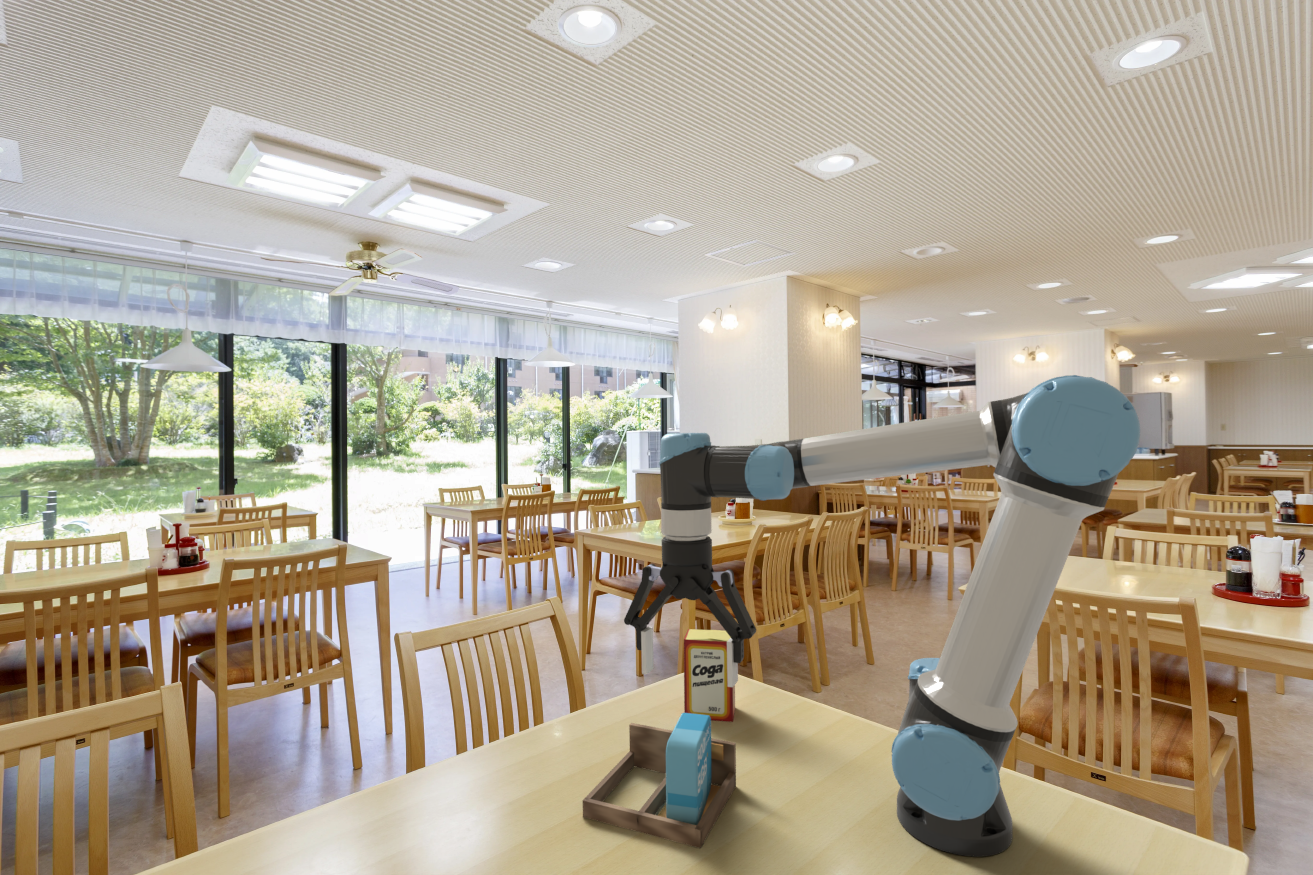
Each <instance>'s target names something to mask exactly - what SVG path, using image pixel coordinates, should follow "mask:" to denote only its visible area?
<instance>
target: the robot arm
mask: <svg viewBox="0 0 1313 875" xmlns="http://www.w3.org/2000/svg"><path fill="white" fill-rule="evenodd" d="M1140 438H1141V424H1140V418H1139V415H1138V412H1137V411H1136V409H1135V407H1134V405H1133V403H1132V402H1131V400H1129V398H1128V397H1127V396H1126V395H1125V394H1124V393H1123V392H1122V391H1120V390H1119V389H1118V388H1117V387H1115V386H1113V385H1111V384H1109V383H1108V382H1106V381H1104V380H1100V379H1096V378H1095V377H1092V376H1090V377H1089V376H1082V375H1076V374H1073V375H1062V376H1056V377H1053V378H1050V379H1047V380H1045V381H1043V382H1040V383H1039V384H1038V385H1036V386H1035V387H1034V386H1033V388H1031V389H1030V390H1029V391H1028V392H1026V393H1023V394H1020V395H1017V396H1014V397H1010V398H1009V397H1008V398H1004V399H999V400H998V399H997V400H993V401H988V402H987V403H986V404H985V405H984V406H983V407H982V409H979V410H976V411H969V412H963V413H962V412H961V413H958V414H957V413H956V414H951V415H943V416H938V417H932V418H926V419H920V420H912V421H907V422H899V423H893V424H888V425H887V424H886V425H881V426H880V425H879V426H873V427H868V428H862V429H855V430H849V431H842V432H836V433H831V434H830V433H829V434H823V435H818V436H811V437H805V438H799V439H792V440H784V441H776V442H771V443H762V444H752V445H730V446H729V445H727V446H726V445H724V446H721V445H713V444H712V442H711V437H710V435H709V433H707V432H676V433H675V432H672V433H666V434H664V435H663V436H662V438H661V440H660V452H659V453H660V454H659V462H658V465H659V470H660V473H659V474H660V493H661V494H660V495H661V496H660V498H661V502H660V518H661V519H660V520H661V521H660V524H661V525H660V527H661V528H660V531H661V532H660V533H661V535H662V536H664V537H663V538H662V539H661V563H662V565H661V567H658V566H656V565H655V564H654V563H649V565H646V566H644V567H643V568H642V572H641V573H642V574H641V581H640V583H639V585H638V587H637V590H636V592H635V595H634V597H633V599H632V600H631V603H630V606H629V608H628V610H627V612H626V614H625V617H624V619H623V623H624V624H625V625H626V626H629V625H630V626H631V627H634V629H635V641H636V643H635V644H636V645H635V646H636V649H637V651H640V652H641V674H642V675H648V674H649V673H650V672H651V671H653V670H654V665H655V664H654V663H655V662H654V630H653V629H654V627H653V626H648V625H650V622H651V621H652V620H653V619H654V617H655V616H656V615H657V614H658V613H659V611H660V610H661V609H662V608H663V607H664V606H665V604H666V603H667V602H668V601H669V600H670V599H671V597H672V596H673V597H674V598H675V600H676V599H677V600H682V599H686V600H689V601H696V600H699V601H700V602H701V603H702V604H703V605H705V606H706V607H707V608H708V610H709V611H710V612H711V614H712V615H713V616H714V617H715V619H716V620H717V621H718V623H719V624H720V625H721V627H722V628H723V630H724V631H726V632H727V633H728V635H729V636H730V637H731V638H730V639H729V640H728V641H727V683H728V687H733V686H734V685H735V686H736V683H738V681H739V666H738V664H741V662H742V661H743V660H744V657H745V650H744V649H745V645H744V644H745V642H744V641H745V640H746V639H747V640H750V639H752V637H753V636H754V635H755V634H756V633H757V627H756V625H755V623H754V620H752V617H751V614H750V613H749V611H748V609H747V606H746V605H745V602H744V601H743V598H742V596H741V595H740V591H739V590H738V588H737V586H736V583H735V582H736V581H735V575H734V571H733V569H727V570H725V571H715V570H714V568H713V539H712V538H711V537H710V536H709V535H710V534H711V533H712V530H713V529H712V498H718V499H719V498H730V499H731V498H732V499H750V500H759V501H767V500H784V499H786V498H787V497H788V496H790V494H791V490H793V489H799V488H807V487H811V486H812V487H813V486H821V485H830V484H837V483H847V482H854V481H864V480H872V479H879V478H882V479H883V478H890V477H896V476H897V477H898V476H907V475H916V474H922V473H931V472H939V471H949V470H958V469H964V468H965V469H966V468H973V467H981V466H992V467H994V468H995V469H994V472H993V477H994V480H995V482H996V483H997V485H998V486H999V488H1000V491H1001V492H1000V493H1001V494H1000V496H999V499H998V500H997V504H996V508H994V512H993V514H992V518H991V520H990V523H989V525H988V528H987V530H986V534H985V537H984V539H983V542H982V545H981V547H980V550H979V552H978V555H977V557H976V560H975V563H974V566H973V569H972V570H971V574H970V577H969V579H968V581H967V583H966V588H965V590H964V591H963V592H964V593H963V596H962V598H961V600H960V604H959V606H958V609H957V612H956V614H955V616H954V620H953V623H952V626H951V628H950V630H949V634H948V636H947V638H946V641H945V644H944V646H943V649H942V652H941V654H940V657H924V658H919V659H915V660H913V661H912V662H911V663H910V665H909V674H908V676H907V679H908V680H909V682H908V683H909V684H908V685H909V686H908V688H909V690H908V702H907V704H906V708H905V710H904V714H903V717H902V720H901V722H900V726H899V729H898V732H897V734H896V736H895V738H894V739H893V742H892V744H891V751H890V752H891V766H892V771H893V774H894V777H895V779H896V781H897V784H898V785H899V789H898V792H897V796H896V816H897V819H898V820H899V823H900V824H901V826H902V827H903V828H904V830H906V831H907V833H909V834H910V835H911V836H913V837H914V838H916V839H917V840H918V841H920V842H922V843H924V844H926V845H928V846H930V847H932V848H935V849H937V850H939V851H943V852H946V853H949V854H953V855H958V856H964V857H965V856H966V857H987V856H988V857H989V856H990V857H991V856H993V855H997V854H1000V853H1002V852H1004V851H1006V850H1007V849H1008V848H1009V847H1010V846H1011V844H1012V842H1013V820H1012V815H1011V812H1010V809H1009V806H1008V803H1007V800H1006V797H1005V794H1004V792H1003V788H1002V786H1001V778H1000V771H1001V768H1002V766H1003V763H1004V760H1005V757H1006V754H1007V752H1008V750H1009V748H1010V744H1011V742H1012V739H1013V738H1014V735H1015V732H1016V729H1017V726H1018V724H1019V723H1018V719H1017V716H1016V715H1015V713H1014V711H1013V709H1012V707H1011V706H1010V705H1011V704H1010V703H1011V701H1012V698H1013V696H1014V693H1015V690H1016V688H1017V686H1018V683H1019V681H1020V677H1021V675H1022V673H1023V670H1024V668H1025V665H1026V662H1027V660H1028V658H1029V656H1030V654H1031V650H1032V648H1033V645H1034V643H1035V641H1036V638H1037V635H1038V632H1039V630H1040V628H1041V626H1042V623H1043V620H1044V617H1045V615H1046V612H1047V610H1048V607H1049V605H1050V602H1051V600H1052V597H1053V595H1054V593H1055V590H1056V587H1057V585H1058V582H1059V580H1060V577H1061V576H1062V572H1063V569H1064V567H1065V565H1066V562H1067V560H1068V558H1069V555H1070V552H1071V549H1072V547H1073V545H1074V541H1075V539H1076V537H1077V536H1078V535H1077V534H1078V532H1079V529H1080V527H1081V524H1082V522H1083V520H1084V519H1085V518H1087V517H1089V516H1092V515H1094V514H1097V513H1099V512H1102V511H1104V510H1105V508H1106V505H1107V503H1108V501H1109V500H1108V499H1109V498H1110V496H1111V492H1112V490H1113V488H1114V486H1115V483H1116V480H1117V478H1118V476H1119V473H1120V472H1122V471H1123V470H1124V469H1125V468H1126V467H1127V466H1128V465H1129V464H1130V462H1131V460H1132V459H1133V458H1134V457H1135V455H1136V452H1137V450H1138V447H1139V443H1140ZM659 577H660V579H661V580H662V582H663V583H664V585H665V586H664V587H663V588H662V590H661V591H660V592H659V593H658V595H657V596H656V597H655V599H654V601H652V603H651V604H650V605H649V606H648V608H647V609H646V610H645V611H644V612H643V614H641V612H642V610H643V607H644V605H645V603H646V601H647V598H648V596H649V594H650V592H651V589H652V588H653V585H654V583H655V581H656V580H658V579H659ZM714 581H716V582H717V585H718V586H719V587H721V588H722V592H723V595H724V596H725V599H726V602H727V603H728V605H729V607H730V609H731V612H732V613H733V614H732V613H731V612H730V611H729V609H727V607H726V606H725V605H724V603H723V602H722V601H721V599H720V598H719V597H718V594H717V591H715V589H714V588H713V587H712V586H711V585H712V584H713V583H714ZM640 614H641V616H640Z"/></svg>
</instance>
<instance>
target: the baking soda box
mask: <svg viewBox="0 0 1313 875" xmlns="http://www.w3.org/2000/svg"><path fill="white" fill-rule="evenodd" d="M730 638H731V637H730V636H729V635H728V633H727V632H726V631H725V630H724V629H723V630H719V629H694V628H692V629H691V628H688V629H687V632H686V633H685V636H684V638H683V688H684V689H683V692H684V693H683V694H684V695H683V698H684V700H683V703H684V706H683V707H684V712H683V713H692V714H701V715H709V716H710V717H711V722H713V721H716V722H725V723H726V722H727V723H729V722H730V723H733V722H734V718H735V713H736V712H735V710H736V684H735V685H734V686H733V687H728V683H727V641H728V640H729V639H730Z"/></svg>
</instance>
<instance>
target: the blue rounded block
mask: <svg viewBox="0 0 1313 875" xmlns="http://www.w3.org/2000/svg"><path fill="white" fill-rule="evenodd" d="M672 731H673V732H672V734H671V736H670V738H669V740H668V742H667V747H666V774H665V777H666V801H665V804H666V818H669V819H673V820H677V821H681V822H685V823H689V824H693V825H697V824H698V823H699V821H700V820H701V817H702V814H703V811H704V808H705V805H706V802H707V799H708V796H709V792H710V789H711V778H712V776H711V738H712V720H711V717H710V716H709V715H701V714H692V713H684V712H682V713H681V714H680V716H679V717H678V720H677V722H676V724H675V726H674V728H673V730H672Z"/></svg>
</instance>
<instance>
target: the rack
mask: <svg viewBox="0 0 1313 875" xmlns="http://www.w3.org/2000/svg"><path fill="white" fill-rule="evenodd" d="M628 729H629V751H628V752H627V753H626V755H624V757H622V758H621V759H620V761H618V762H617V763H616V765H615V766H614V767H613V768H612V769H611V770H610V771H609V772H608V773H607V774H606V775H605V776H604V777H603V778H602V779H601V780H600V781H599V782H598V783H597V784H596V786H595V787H594V788H593V789H592V790H591V791H590V792H589V793H588V794H587V795H586V796H585V797H584V798H583V799H582V818H584V819H588V820H592V821H595V822H600V823H603V824H607V825H611V826H615V827H620V828H622V829H627V830H630V831H634V832H638V833H641V834H645V835H649V836H652V837H656V838H660V839H664V840H667V841H670V842H674V843H679V844H682V845H687V846H691V847H694V848H698V849H701V848H702V847H703V845H704V843H705V841H706V840H707V837H708V836H709V835H710V833H711V831H712V829H713V827H714V826H715V824H716V822H717V820H718V819H719V817H720V815H721V813H722V811H723V810H724V808H725V807H726V804H727V803H728V801H729V799H730V798H731V796H732V794H733V792H734V790H735V789H736V787H737V754H736V753H737V752H736V750H737V749H736V746H737V745H736V744H737V743H736V742H733V741H730V740H729V741H727V740H723V739H717V738H712V737H711V776H712V778H711V789H710V792H709V796H708V799H707V802H706V805H705V808H704V811H703V814H702V817H701V820H700V821H699V823H698V824H697V825H693V824H689V823H685V822H681V821H677V820H673V819H669V818H666V776H665V777H664V778H663V780H662V781H661V782H660V784H659V785H658V786H657V787H656V789H655V790H654V791H653V792H652V794H650V796H649V797H648V799H647V800H646V802H645V803H644V804H643V805H642V807H641V808H640V809H639V810H636V809H633V808H628V807H626V806H625V807H624V806H621V805H617V804H613V803H609V802H604V801H605V799H607V797H608V796H609V795H610V794H611V793H612V792H613V791H614V790H615V789H616V787H617V786H618V785H619V784H620V783H621V782H622V781H623V780H624V779H625V777H627V775H628V774H629V773H630V771H632V769H633V768H639V769H643V770H647V771H652V772H657V773H662V774H665V775H666V747H667V742H668V740H669V738H670V736H671V734H672V732H673V730H672V729H665V728H660V727H655V726H650V725H646V724H645V725H644V724H641V723H640V724H639V723H636V722H635V723H634V722H631V723H630V724H629V728H628ZM664 803H665V804H664ZM663 805H664V806H663ZM660 809H661V810H660ZM659 810H660V811H659ZM657 813H658V814H657Z"/></svg>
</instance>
